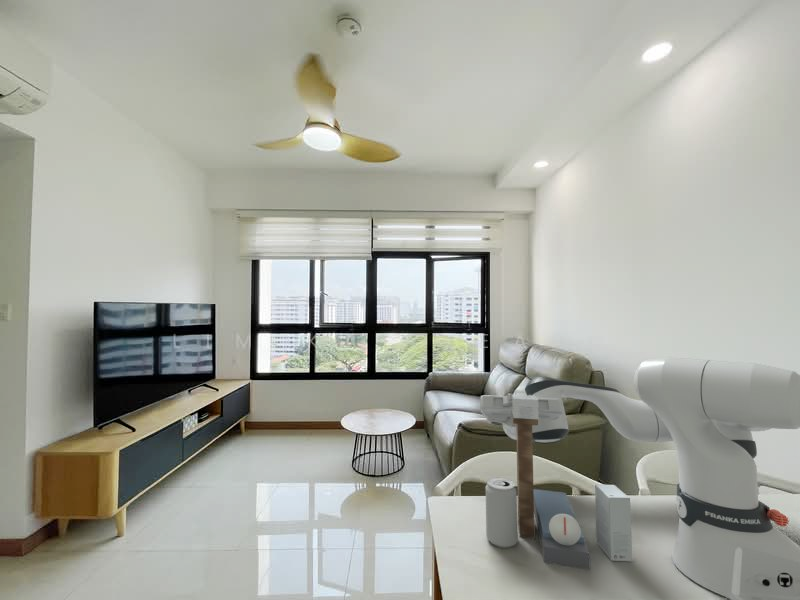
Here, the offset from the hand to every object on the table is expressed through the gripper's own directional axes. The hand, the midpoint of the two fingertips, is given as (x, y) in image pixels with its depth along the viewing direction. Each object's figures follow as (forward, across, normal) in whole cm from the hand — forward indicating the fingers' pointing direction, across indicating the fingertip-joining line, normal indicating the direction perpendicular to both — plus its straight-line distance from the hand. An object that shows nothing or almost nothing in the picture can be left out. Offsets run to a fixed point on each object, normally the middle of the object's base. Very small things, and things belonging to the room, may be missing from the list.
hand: (521, 397), depth 88 cm
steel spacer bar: (+3, 0, -4) cm, 4 cm away
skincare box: (-5, -16, -29) cm, 34 cm away
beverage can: (-3, +5, -30) cm, 31 cm away
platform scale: (-8, -6, -27) cm, 29 cm away
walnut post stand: (-7, 0, -28) cm, 29 cm away
